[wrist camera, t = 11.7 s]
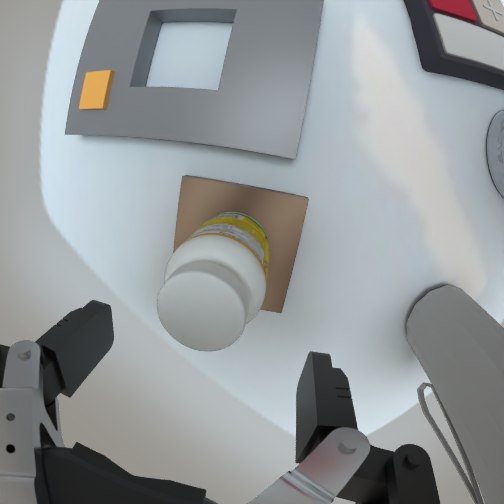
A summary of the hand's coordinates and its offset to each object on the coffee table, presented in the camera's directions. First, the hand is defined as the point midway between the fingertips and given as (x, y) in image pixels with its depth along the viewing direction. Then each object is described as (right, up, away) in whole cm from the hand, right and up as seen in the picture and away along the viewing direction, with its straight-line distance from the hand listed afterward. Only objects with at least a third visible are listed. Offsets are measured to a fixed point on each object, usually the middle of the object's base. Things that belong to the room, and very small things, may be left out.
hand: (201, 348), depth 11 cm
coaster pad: (+1, +4, +12) cm, 13 cm away
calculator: (+20, +26, +4) cm, 33 cm away
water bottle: (+19, -3, +13) cm, 23 cm away
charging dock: (-3, +19, +7) cm, 20 cm away
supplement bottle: (+1, +4, +11) cm, 12 cm away
